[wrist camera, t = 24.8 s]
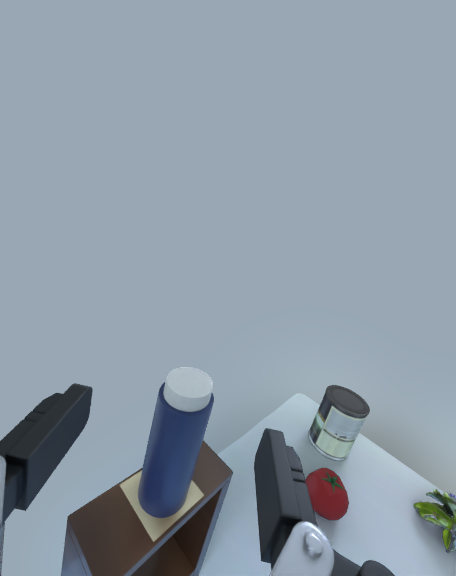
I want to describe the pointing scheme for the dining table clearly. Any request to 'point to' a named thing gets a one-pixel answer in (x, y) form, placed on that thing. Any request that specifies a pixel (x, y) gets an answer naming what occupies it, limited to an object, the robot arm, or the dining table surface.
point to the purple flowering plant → (441, 514)
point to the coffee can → (338, 422)
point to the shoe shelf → (146, 528)
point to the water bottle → (175, 441)
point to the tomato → (327, 494)
